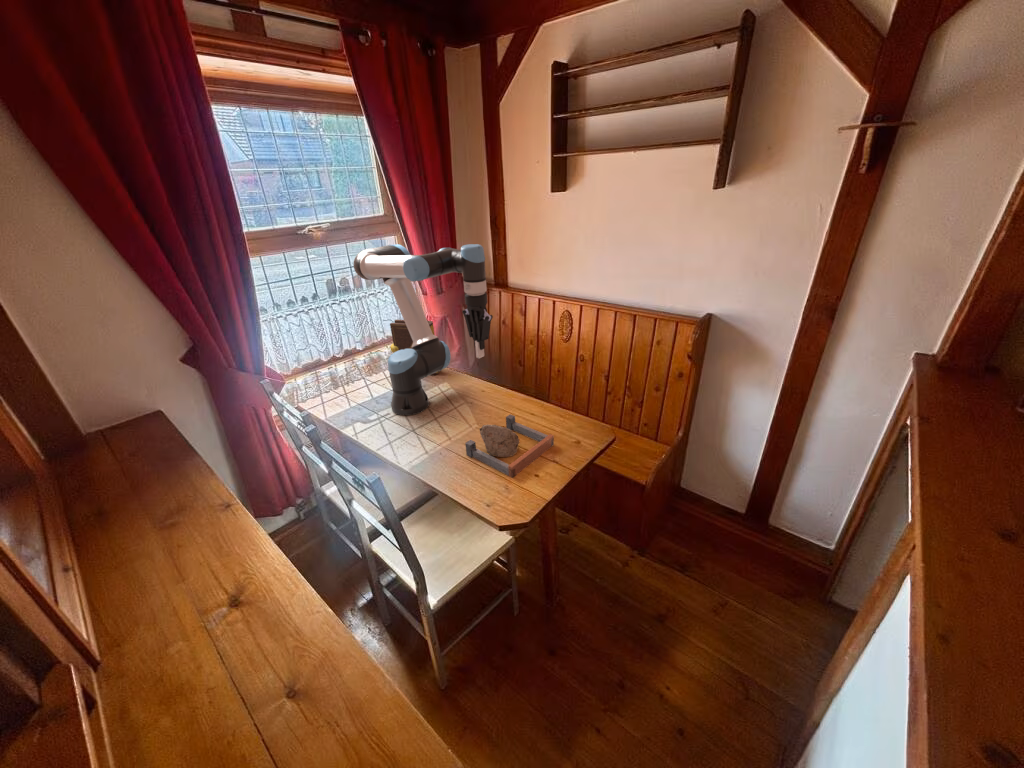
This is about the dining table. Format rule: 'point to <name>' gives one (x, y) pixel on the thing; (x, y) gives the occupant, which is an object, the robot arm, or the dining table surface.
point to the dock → (523, 460)
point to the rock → (499, 440)
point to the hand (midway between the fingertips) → (480, 356)
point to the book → (404, 336)
